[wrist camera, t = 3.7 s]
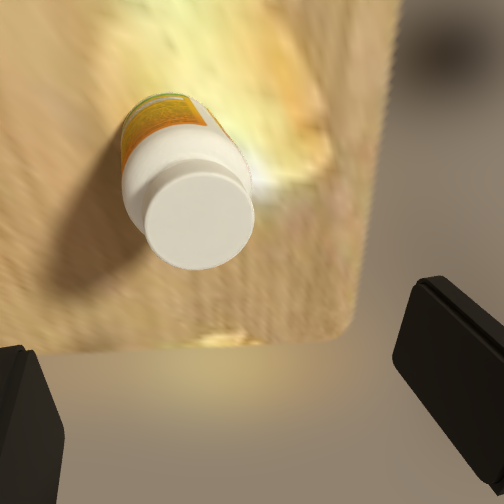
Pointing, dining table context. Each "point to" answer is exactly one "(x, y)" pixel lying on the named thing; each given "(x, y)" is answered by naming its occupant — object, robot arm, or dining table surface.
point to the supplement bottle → (185, 182)
